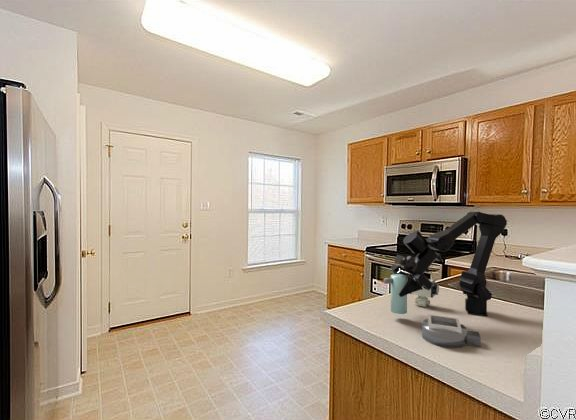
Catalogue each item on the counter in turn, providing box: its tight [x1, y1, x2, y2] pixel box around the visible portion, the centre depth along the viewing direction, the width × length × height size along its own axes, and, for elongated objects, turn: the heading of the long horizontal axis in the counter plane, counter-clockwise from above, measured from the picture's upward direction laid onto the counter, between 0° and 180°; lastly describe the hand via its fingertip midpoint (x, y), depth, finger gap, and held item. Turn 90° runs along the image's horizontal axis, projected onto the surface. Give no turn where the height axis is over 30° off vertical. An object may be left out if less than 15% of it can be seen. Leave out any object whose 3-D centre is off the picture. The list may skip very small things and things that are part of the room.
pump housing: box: [383, 273, 408, 315], centre depth 110 cm, size 8×6×13 cm
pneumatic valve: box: [409, 278, 440, 308], centre depth 125 cm, size 6×12×12 cm, turn 51°
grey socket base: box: [421, 314, 482, 349], centre depth 94 cm, size 16×13×6 cm
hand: (395, 293), depth 110 cm, fingers closed on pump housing, 6 cm apart
